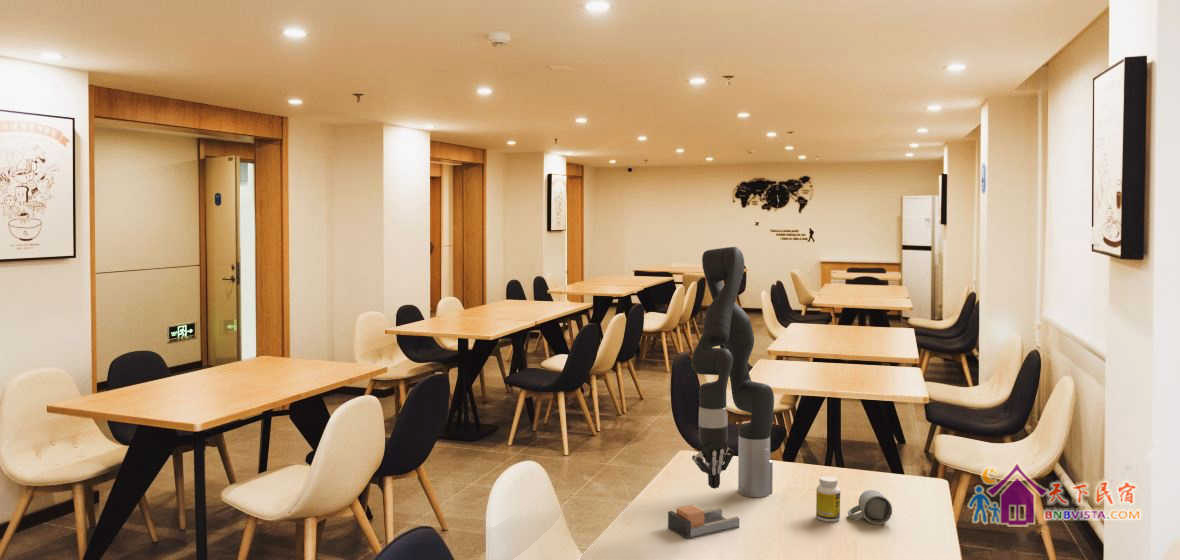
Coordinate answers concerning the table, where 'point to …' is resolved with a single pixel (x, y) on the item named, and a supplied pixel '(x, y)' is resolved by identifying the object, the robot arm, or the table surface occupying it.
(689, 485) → the table surface
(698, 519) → the block
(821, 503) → the pill bottle
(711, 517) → the chute
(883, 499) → the ceramic mug
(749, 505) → the table surface
